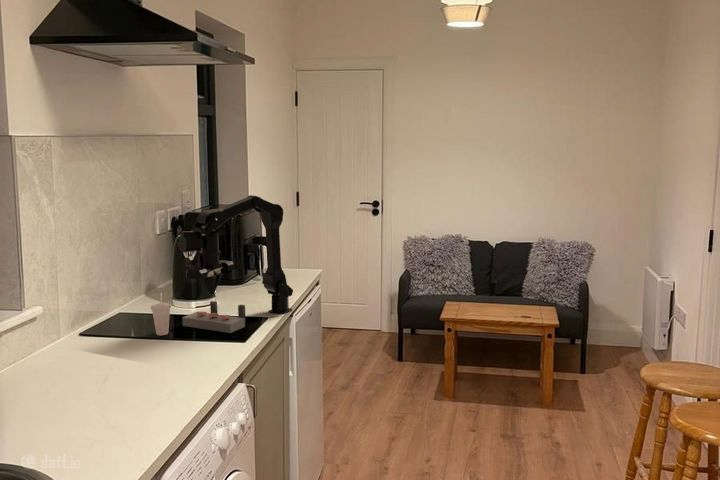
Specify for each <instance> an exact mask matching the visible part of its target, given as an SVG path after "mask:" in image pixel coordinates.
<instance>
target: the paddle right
mask: <svg viewBox="0 0 720 480" xmlns="http://www.w3.org/2000/svg"><path fill="white" fill-rule="evenodd" d="M220 315H221V316H220V318H222V319H229V318H230V316H231V315H229V314H220Z"/></svg>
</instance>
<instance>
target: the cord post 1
mask: <svg viewBox="0 0 720 480" xmlns="http://www.w3.org/2000/svg"><path fill="white" fill-rule="evenodd" d="M209 306H210V309H209V311H210V313H217V314H218V315H219V313H218V301H217V300H214V301H213V300H212V301H210V302H209Z"/></svg>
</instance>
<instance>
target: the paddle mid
mask: <svg viewBox="0 0 720 480" xmlns="http://www.w3.org/2000/svg"><path fill="white" fill-rule="evenodd" d="M218 315H219V313H218V314H217V313H211V312H210V314H209V315H208V317H218Z"/></svg>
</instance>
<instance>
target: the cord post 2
mask: <svg viewBox="0 0 720 480" xmlns="http://www.w3.org/2000/svg"><path fill="white" fill-rule="evenodd" d="M237 311H238V313H237V315H238V317H239V318H245V324H246V321H247V319H246V305H245V304H238V306H237Z"/></svg>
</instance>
